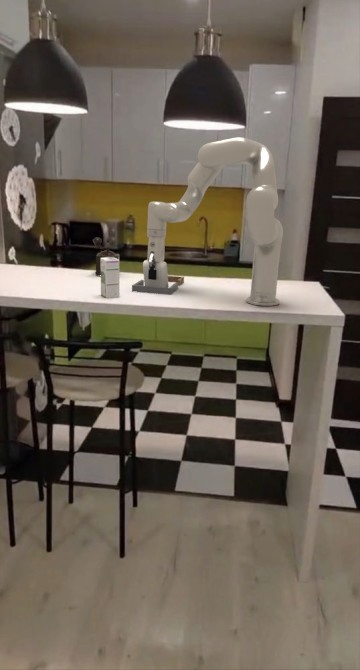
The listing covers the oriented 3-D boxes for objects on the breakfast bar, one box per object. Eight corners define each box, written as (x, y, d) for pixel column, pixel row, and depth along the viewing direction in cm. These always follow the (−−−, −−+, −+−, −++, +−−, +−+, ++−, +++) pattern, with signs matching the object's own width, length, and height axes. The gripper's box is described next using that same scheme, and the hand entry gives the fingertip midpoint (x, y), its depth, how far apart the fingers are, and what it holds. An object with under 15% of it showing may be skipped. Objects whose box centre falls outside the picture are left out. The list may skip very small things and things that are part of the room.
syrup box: (120, 297, 192) (120, 259, 188) (105, 298, 190) (105, 259, 185) (114, 294, 197) (114, 256, 193) (100, 295, 194) (99, 257, 190)
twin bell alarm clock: (96, 272, 244) (96, 234, 239) (119, 273, 245) (120, 235, 240) (92, 278, 229) (92, 237, 224) (117, 278, 230) (117, 238, 225)
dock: (179, 286, 219) (179, 280, 218) (146, 283, 221) (146, 277, 221) (183, 282, 227) (184, 276, 226) (151, 280, 230) (151, 274, 229)
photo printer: (170, 285, 211) (167, 258, 205) (167, 290, 208) (164, 263, 201) (146, 283, 214) (143, 256, 207) (143, 288, 211) (140, 261, 204)
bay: (170, 294, 201) (171, 288, 200) (132, 291, 204) (132, 285, 203) (178, 288, 213) (178, 282, 213) (141, 285, 216) (141, 279, 216)
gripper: (160, 236, 194) (157, 282, 199) (170, 232, 210) (168, 275, 215) (141, 234, 195) (139, 280, 201) (153, 231, 212) (151, 274, 217)
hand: (154, 277), depth 208 cm, fingers closed on photo printer, 5 cm apart
